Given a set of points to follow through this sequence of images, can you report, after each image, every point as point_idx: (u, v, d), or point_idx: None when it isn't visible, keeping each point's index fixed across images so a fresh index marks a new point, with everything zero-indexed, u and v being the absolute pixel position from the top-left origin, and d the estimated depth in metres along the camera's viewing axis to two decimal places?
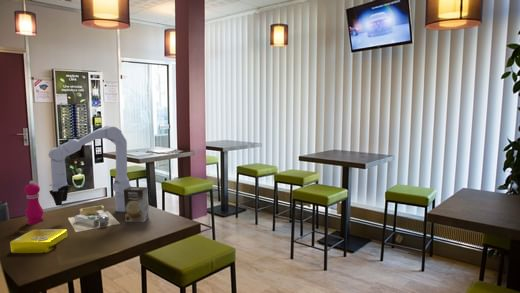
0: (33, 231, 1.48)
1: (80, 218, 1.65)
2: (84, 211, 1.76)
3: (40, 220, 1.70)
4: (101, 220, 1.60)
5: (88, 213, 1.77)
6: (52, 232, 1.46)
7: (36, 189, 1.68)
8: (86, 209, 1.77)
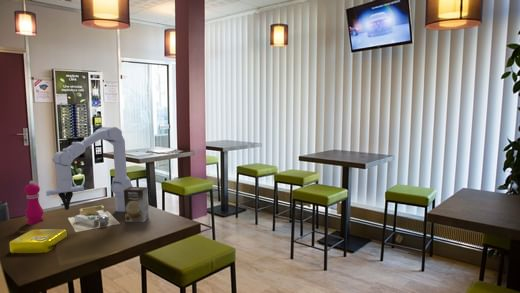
0: (32, 231, 1.48)
1: (80, 218, 1.65)
2: (84, 211, 1.76)
3: (40, 220, 1.70)
4: (101, 220, 1.60)
5: (88, 213, 1.77)
6: (51, 232, 1.46)
7: (36, 189, 1.68)
8: (86, 209, 1.77)
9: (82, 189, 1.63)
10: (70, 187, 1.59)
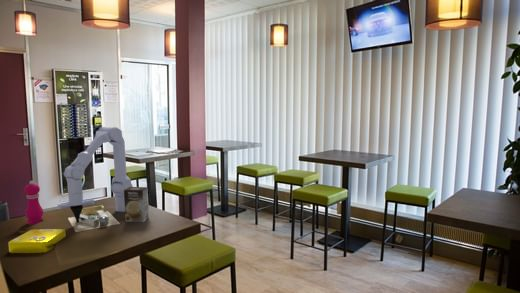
0: (31, 231, 1.48)
1: (80, 218, 1.65)
2: (84, 211, 1.76)
3: (40, 220, 1.70)
4: (101, 220, 1.60)
5: (88, 213, 1.77)
6: (50, 232, 1.46)
7: (36, 189, 1.68)
8: (86, 209, 1.77)
9: (92, 202, 1.66)
10: (81, 200, 1.62)
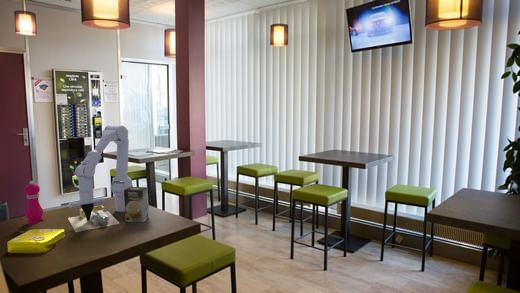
0: (31, 231, 1.48)
1: None
2: None
3: (40, 220, 1.70)
4: (101, 220, 1.60)
5: None
6: (49, 232, 1.46)
7: (36, 189, 1.68)
8: None
9: (103, 200, 1.69)
10: (92, 199, 1.65)
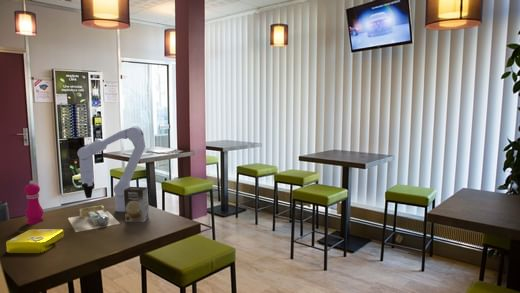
0: (30, 231, 1.48)
1: (89, 215, 1.69)
2: (84, 211, 1.76)
3: (40, 220, 1.70)
4: (101, 220, 1.60)
5: None
6: (48, 232, 1.46)
7: (36, 189, 1.68)
8: (86, 209, 1.77)
9: None
10: None
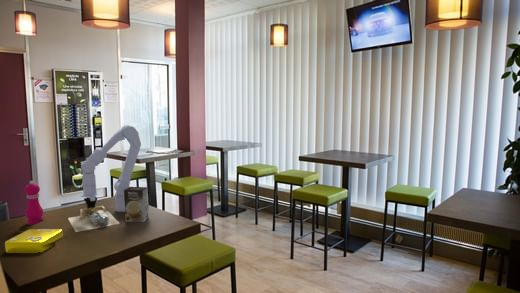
0: (29, 231, 1.48)
1: (89, 215, 1.69)
2: (84, 212, 1.75)
3: (40, 220, 1.70)
4: (101, 220, 1.60)
5: None
6: (47, 232, 1.46)
7: (36, 189, 1.68)
8: (86, 210, 1.76)
9: None
10: None
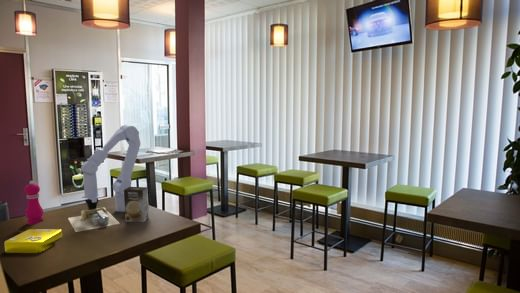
0: (28, 231, 1.48)
1: (89, 215, 1.69)
2: (86, 213, 1.73)
3: (40, 220, 1.70)
4: (101, 220, 1.60)
5: None
6: (47, 232, 1.46)
7: (36, 189, 1.68)
8: (88, 211, 1.73)
9: None
10: None
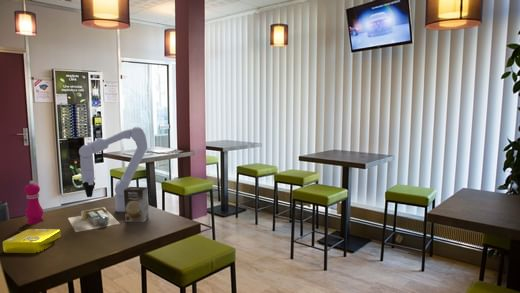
0: (27, 231, 1.48)
1: (89, 215, 1.69)
2: (86, 213, 1.73)
3: (40, 220, 1.70)
4: (101, 220, 1.60)
5: None
6: (45, 232, 1.46)
7: (36, 189, 1.68)
8: (88, 211, 1.73)
9: None
10: None
